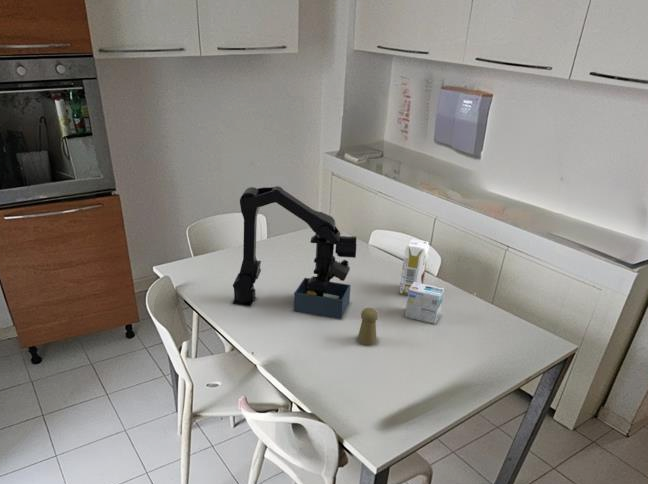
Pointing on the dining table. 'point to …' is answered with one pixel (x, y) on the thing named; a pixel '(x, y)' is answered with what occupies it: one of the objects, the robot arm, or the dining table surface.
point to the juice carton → (414, 264)
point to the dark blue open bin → (322, 300)
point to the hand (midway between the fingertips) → (322, 296)
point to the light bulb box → (424, 302)
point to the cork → (368, 327)
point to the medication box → (324, 295)
